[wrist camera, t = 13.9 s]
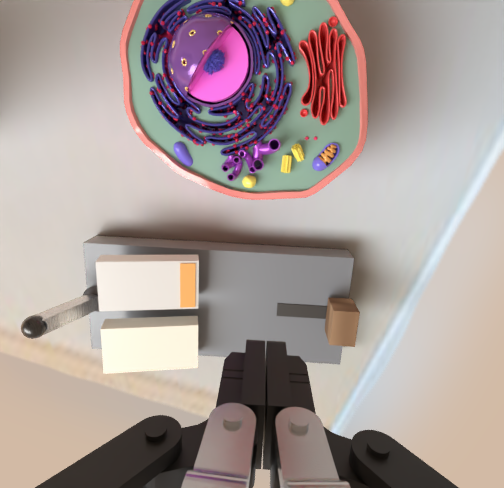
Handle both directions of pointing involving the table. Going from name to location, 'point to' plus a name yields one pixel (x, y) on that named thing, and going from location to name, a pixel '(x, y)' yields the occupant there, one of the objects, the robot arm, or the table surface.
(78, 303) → the toggle lever
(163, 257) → the rocker white
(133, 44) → the cell model
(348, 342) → the slider knob
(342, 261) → the panel
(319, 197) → the table surface
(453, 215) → the table surface
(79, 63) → the table surface
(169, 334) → the block
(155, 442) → the robot arm
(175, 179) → the table surface
